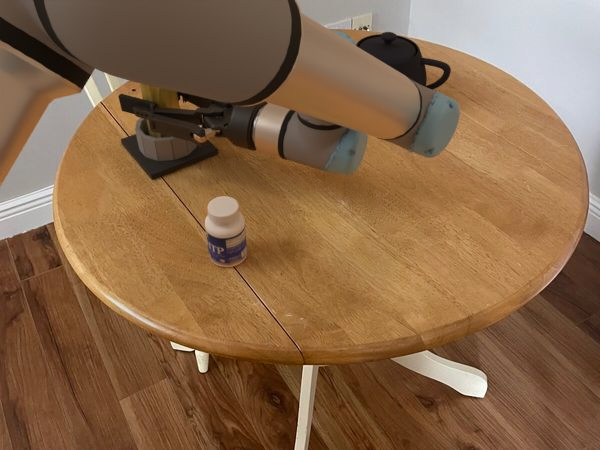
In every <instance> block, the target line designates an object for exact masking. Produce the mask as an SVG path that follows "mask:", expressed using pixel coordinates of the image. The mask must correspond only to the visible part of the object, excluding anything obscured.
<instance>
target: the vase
mask: <svg viewBox="0 0 600 450" xmlns="http://www.w3.org/2000/svg"><path fill="white" fill-rule="evenodd" d="M139 85H140V88H141V96H142V99H144V100H148V101H151V102H156V104H157V107H165V108H177V109H181V106H180V102H179V101H180V100H178V95H177V91H172V90H168V89H163V88H158V87H154V86H149V85H145V84H141V83H139ZM147 125H148V130H149V136H151V137H155V138H165V137H171V136H168V135H164V134H160V133H156V132H152V131H151V130H150V125H149V120H147Z"/></svg>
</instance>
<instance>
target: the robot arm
mask: <svg viewBox="0 0 600 450" xmlns="http://www.w3.org/2000/svg"><path fill="white" fill-rule="evenodd" d="M356 44H357V42H356V40H355V39H353V38H352V37H351V36H350V35H349V34H348V33H346V32H343V31H340V30H333V29H329V28H328V27H325V26H324V25H322V24H320V23H319V22H317V21H316V20H314V19H313V18H310V17H309V16H308V15H306V14H304V13H303V12H302V10H301V7H300V4H299V3H298V1H297V0H0V188H1V187H2V185H3V183H4V182H5V180H6V178H7V176H8V175H9V173H10V171H11V170H12V168H13V167H14V164H15V162H17V159H18V158H19V156H20V154H21V153H22V152H23V149H24V148H25V146H26V144H27V143H28V141H29V139H30V137H31V135H32V134H33V132H34V131H35V129H36V127H37V125H38V123H39V122H40V120H41V119H42V117H43V115H44V113H45V112H46V111H47V109H48V107H49V105H50V104H51V103H52V102H53V101H54V100H56V99H61V98H65V97H69V96H73V95H77V94H81V93H82V91H83V89H84V88H85V87H86V84H87V83H88V81H89V80H90V79H91V76H92V74H93V73H94V72H95V70H97V71H99V72H102V73H105V74H106V75H109V76H112V77H115V78H119V79H122V80H126V81H129V82H132V83H138V84H140V83H141V84H145V85H149V86H154V87H158V88H163V89H168V90H172V91H177V95H178V100H179V101H181V100H182V103H183V104H185V103H187V102H188V103H190V104H191V105H193V106H195V107H197V108H196V109H187V108H180V109H177V108H165V107H157V104H156V102H151V101H148V100H144V99H143V98H140V97H136V96H133V95H128V94H125V93H120V94H118V101H119V105H120V109H121V112H124V113H127V114H133V115H134V116H135V117H137V118H139V119H140V118H143V119H147V120H149V125H150V130H151V131H152V132H156V133H160V134H164V135H168V136H171V137H175V138H179V139H183V140H187V141H191V142H193V143H195V144H197V145H198V146H200V147H205V146H206V145H207V142H206V140H210V139H211V138H225V139H227V140H228V141H229V142H230V143H231V144H232V145H233V146H235V147H238V148H241V149H245V150H249V151H252V152H255V151H256V152H258V153H261V154H265V155H268V156H271V157H276V158H279V159H282V160H285V161H288V162H292V163H296V164H300V165H303V166H306V167H308V168H309V167H310V168H312V169H316V170H319V171H323V172H324V173H332V174H336V175H342V176H352V175H354V174H355V173H356V172H357V170H359V168H360V167H361V164H362V163H363V160H364V157H365V153H366V149H367V145H368V136H371V137H373V138H377V139H378V140H382V141H385V142H388V143H391V144H393V145H396V146H398V147H400V148H402V149H404V150H406V151H408V152H409V153H411V154H412V153H414V154H416V155H418V156H421V157H423V158H427V159H432V158H435V157H437V156H439V155H440V154H442V153H443V152H444V150H445V149H446V148H447V147H448V145H449V144H450V142H451V141H452V138H453V136H454V135H455V132H456V130H457V128H458V125H459V121H460V115H461V110H460V109H461V108H460V105H459V103H458V101H457V100H455V99H454V98H453V97H450V96H448V95H447V94H444V93H442V92H441V91H439V90H436V89H433V90H432V89H429V88H427V87H424V86H422V85H420V84H418V83H417V82H415V81H413V80H412V79H410V78H408V77H406V76H405V75H403V74H402V73H400V72H398V71H397V70H395V69H393V68H392V67H390V66H388V65H387V64H385V63H383V62H382V61H380V60H378V59H377V58H375V57H373V56H372V55H370V54H369V53H367V52H365V51H364V50H362V49H360V48H359V47H357V46H356Z"/></svg>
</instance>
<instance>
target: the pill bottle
mask: <svg viewBox="0 0 600 450" xmlns="http://www.w3.org/2000/svg"><path fill="white" fill-rule="evenodd" d="M206 208H207V215H206V217H205V219H204V231H205V237H206V244H207V251H208V257H209V260H210V261H211V262H212V263H213V264H214V265H216V266H218V267H221V268H233V267H235V266H238V265H240V264H242V263H243V262H244V261H245V259H246V258H247V256H248V245H247V244H248V242H247V230H246V229H247V228H246V220H245V219H246V218H245V217H244V215H243V214H242V212H241V211H240V205H239V202H238V200H236V198H234V197H231V196H228V195H221V196H217V197H214V198H213V199H211V200H210V201H209V202H208V204H207V207H206Z"/></svg>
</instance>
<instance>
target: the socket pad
mask: <svg viewBox="0 0 600 450" xmlns="http://www.w3.org/2000/svg"><path fill="white" fill-rule="evenodd" d="M134 132H135V133H134V134H131V135H129V136H126V137H123V138H121V139H120V143H121V145H122V146H123V147H124V149H125V150H126V151H127V152H128V153H129V154H130V156H131V157H132V158H133V159H134V160H135V162H136V163H137V164H138V165H139V167H141V169H142V170H143V171H144V172H145V173H146V175H147V176H148V177H149V178H150V179H151V180H152V181H153V180H156V179H158V178H161V177H163V176H166V175H167V174H171V173H173V172H177V171H178V170H181V169H184V168H186V167H189V166H191V165H194V164H197V163H199V162H201V161H204V160H206V159H210V158H212V157H214V156H217V155H218V154H219V149H218V147H217V146H215V145H214V144H213V143H212V142H211V141H210V139H208V140H206V142H207V145H206V146H205V147H200V146H198V145H197V144H195V143H193V142H191V141H187V140H183V139H179V138H175V137H165V138H155V137H151V136H149V130H148V125H147V119H143V118H140V117H139V118H138V119H137V120H136V122H135V127H134Z"/></svg>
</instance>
